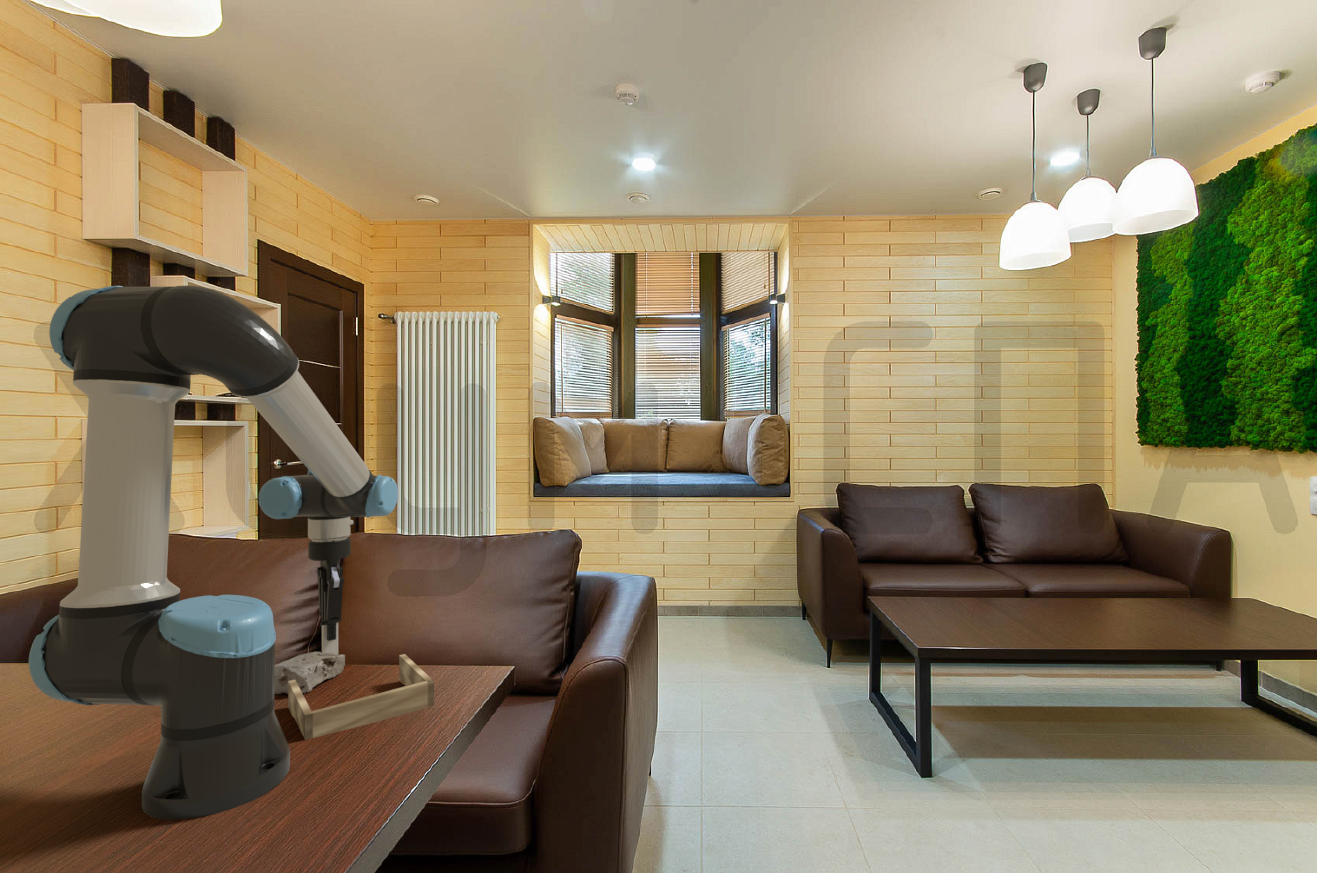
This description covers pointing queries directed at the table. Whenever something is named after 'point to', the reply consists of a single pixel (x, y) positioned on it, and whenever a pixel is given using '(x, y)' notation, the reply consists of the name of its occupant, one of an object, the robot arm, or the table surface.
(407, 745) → the table surface
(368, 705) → the bracket
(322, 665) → the stone
